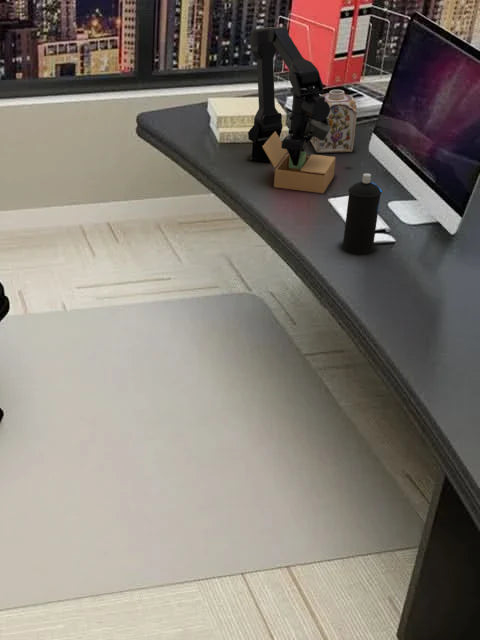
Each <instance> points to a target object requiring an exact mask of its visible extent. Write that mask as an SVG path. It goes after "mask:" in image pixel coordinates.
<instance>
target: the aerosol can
mask: <svg viewBox="0 0 480 640" xmlns="http://www.w3.org/2000/svg"><path fill="white" fill-rule="evenodd" d="M371 179H372V173H363V174H362V179H361V181H359V182H356V183H354V184H352V185H351V186H350V187H349V188H348V189H347V191H348V198H347V208H346V216H345V224H344V234H343V241H342V243H341V248H342V250H344V251H345V252H347V253H349V254H353V255H365V254H370V253H371V252H373V251H374V250H375V237H376V230H377V223H378V215H379V208H380V201H381V195H382V192H383V190H382V189H381V188H380V187H379V185H377V184H376V183H375V182H372V181H371Z"/></svg>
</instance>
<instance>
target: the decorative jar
mask: <svg viewBox="0 0 480 640" xmlns="http://www.w3.org/2000/svg"><path fill="white" fill-rule="evenodd" d="M320 95H321V96H324V97H325V102H327V103H328V104H329V106H330V113H329V115H328V117H327V119H329V125H331V126H330V127H331V128H330V130H329V132H328V134H327V136H326V138H325V139H324V141H322V140H319V139H318V138H317V137H314V136H313V137H312V139H311V140H310V141H309V142H310V143H311V145H312V147H313V148H314V150H315V152H316V153H317V154H328V153H329V154H333V153H352V152H353V150H354V143H355V136H356V126H357V117H358V108H357V107H358V106H357V104H356V99H355V97H354V96H352V95H349V94H348V93H345V91H344V90H342V89H332V90H330V91H329V92H327V93H323V94H320Z"/></svg>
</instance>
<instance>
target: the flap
mask: <svg viewBox="0 0 480 640" xmlns="http://www.w3.org/2000/svg"><path fill="white" fill-rule="evenodd" d="M282 141H283V140H282V139H281V137H280V138H279V136H278V135H277V133H276V131H275V132H274V133H273V134H272V136H271V137H270V138H269V139H268V140H267V142H266V143H265V144H264V145H263V146H262V147H263V149H264V151H265V152H266V154H267V156H268V157H269V159H270V161H271V162H270V163H271V164H272V166H273V167H274V168H275V169H276V168H277V167H278V165H279V164H280V163H281V161H282V160H283V159H284V157H285V156H286V155H287V154H288V150H287V149H282V148H281V146H282Z"/></svg>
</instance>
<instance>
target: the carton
mask: <svg viewBox="0 0 480 640" xmlns="http://www.w3.org/2000/svg"><path fill="white" fill-rule="evenodd" d="M289 159H290V155H289V153H286V154H285V156H284V157H283V158H282V160H281V161H280V162H279V164H278V165H277V166H276V167H275V169H274V181H273V188H277V189H285V190H293V191H294V190H295V191H301V192H308V193H309V192H311V193H317V194H318V193H319V194H324V193H325V191H326V190H327V188H328V187H329V185H330V183H331V182H332V180H333V178H334V176H335V170H336V169H335V168H336V156H331V155H320V154H310V156H308V155H306V162H305V164H304V166H303V167H302V169H295V168H289Z"/></svg>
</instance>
